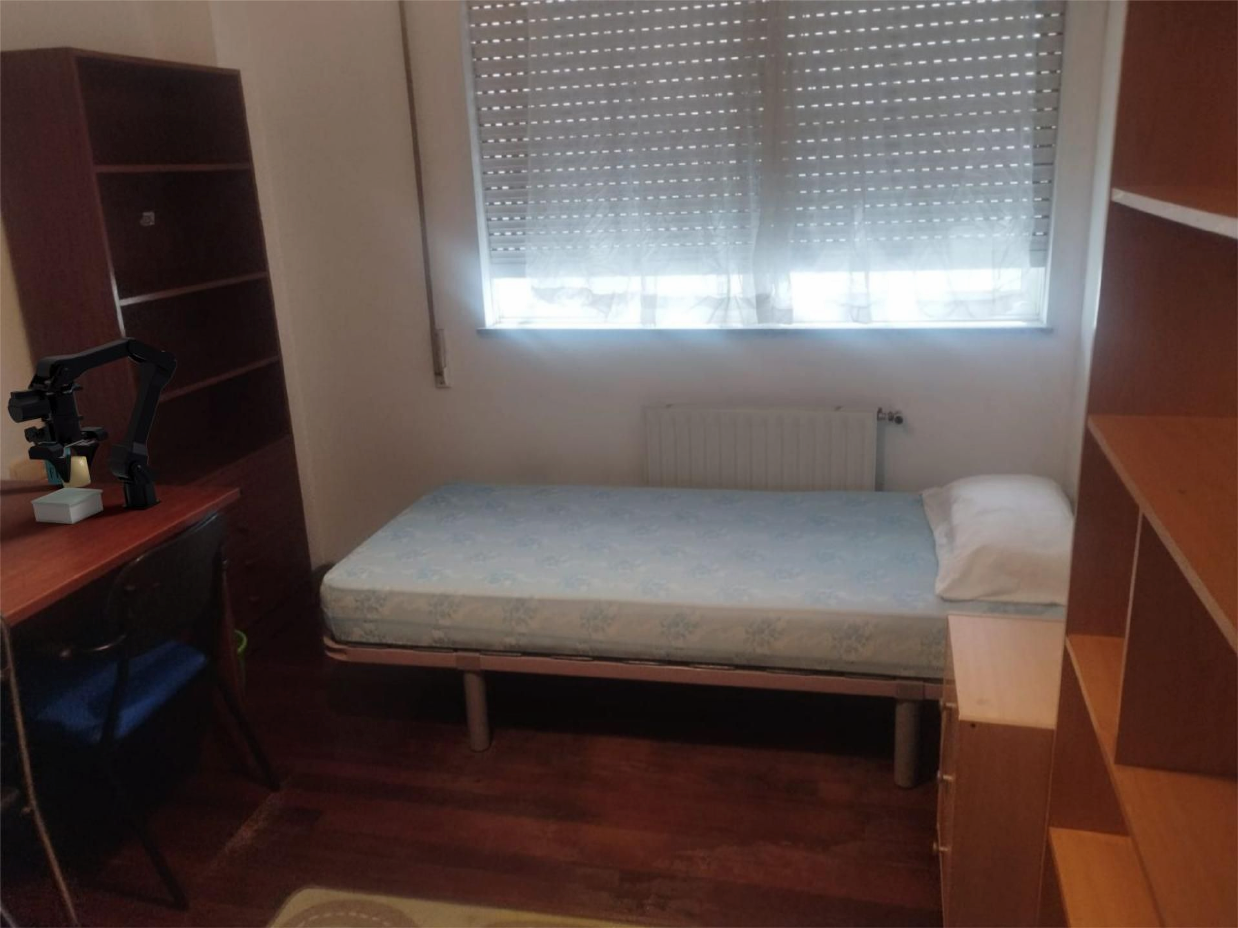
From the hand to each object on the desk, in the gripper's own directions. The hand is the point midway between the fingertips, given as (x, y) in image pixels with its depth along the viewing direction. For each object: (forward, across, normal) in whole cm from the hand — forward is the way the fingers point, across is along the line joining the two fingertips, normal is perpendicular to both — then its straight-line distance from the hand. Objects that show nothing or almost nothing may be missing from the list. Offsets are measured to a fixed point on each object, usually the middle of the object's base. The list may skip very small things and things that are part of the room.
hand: (76, 478), depth 221 cm
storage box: (+11, -4, -7) cm, 14 cm away
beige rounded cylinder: (+1, 0, 0) cm, 1 cm away
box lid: (+6, -4, -7) cm, 11 cm away
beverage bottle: (+11, -25, -26) cm, 38 cm away
